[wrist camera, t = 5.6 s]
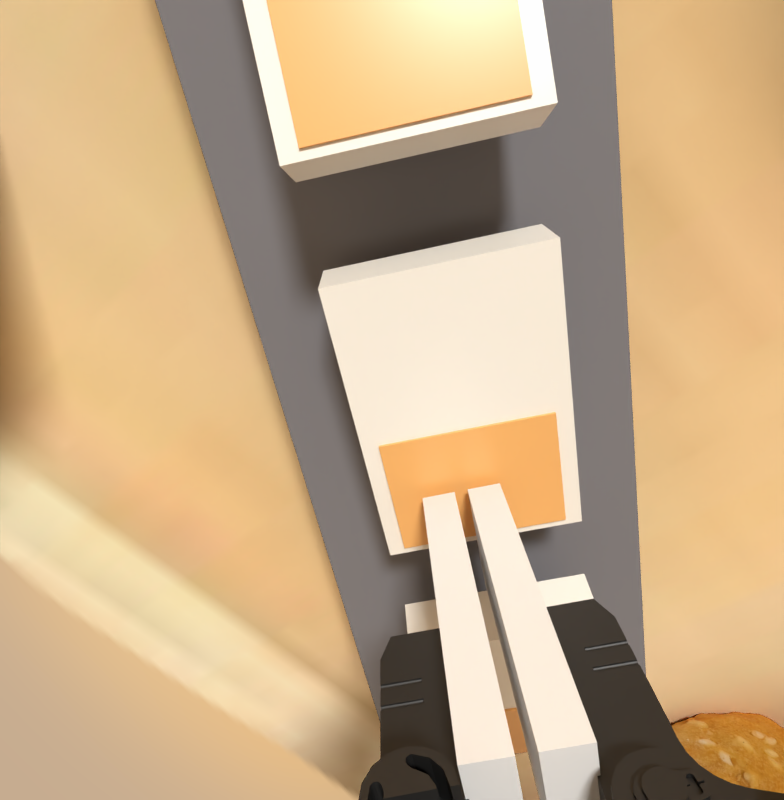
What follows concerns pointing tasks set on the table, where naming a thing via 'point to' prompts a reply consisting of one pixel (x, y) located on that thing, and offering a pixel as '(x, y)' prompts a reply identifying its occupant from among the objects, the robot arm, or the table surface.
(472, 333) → the rocker
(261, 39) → the rocker
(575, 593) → the rocker
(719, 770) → the bagel
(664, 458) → the table surface
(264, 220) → the rocker switch panel
